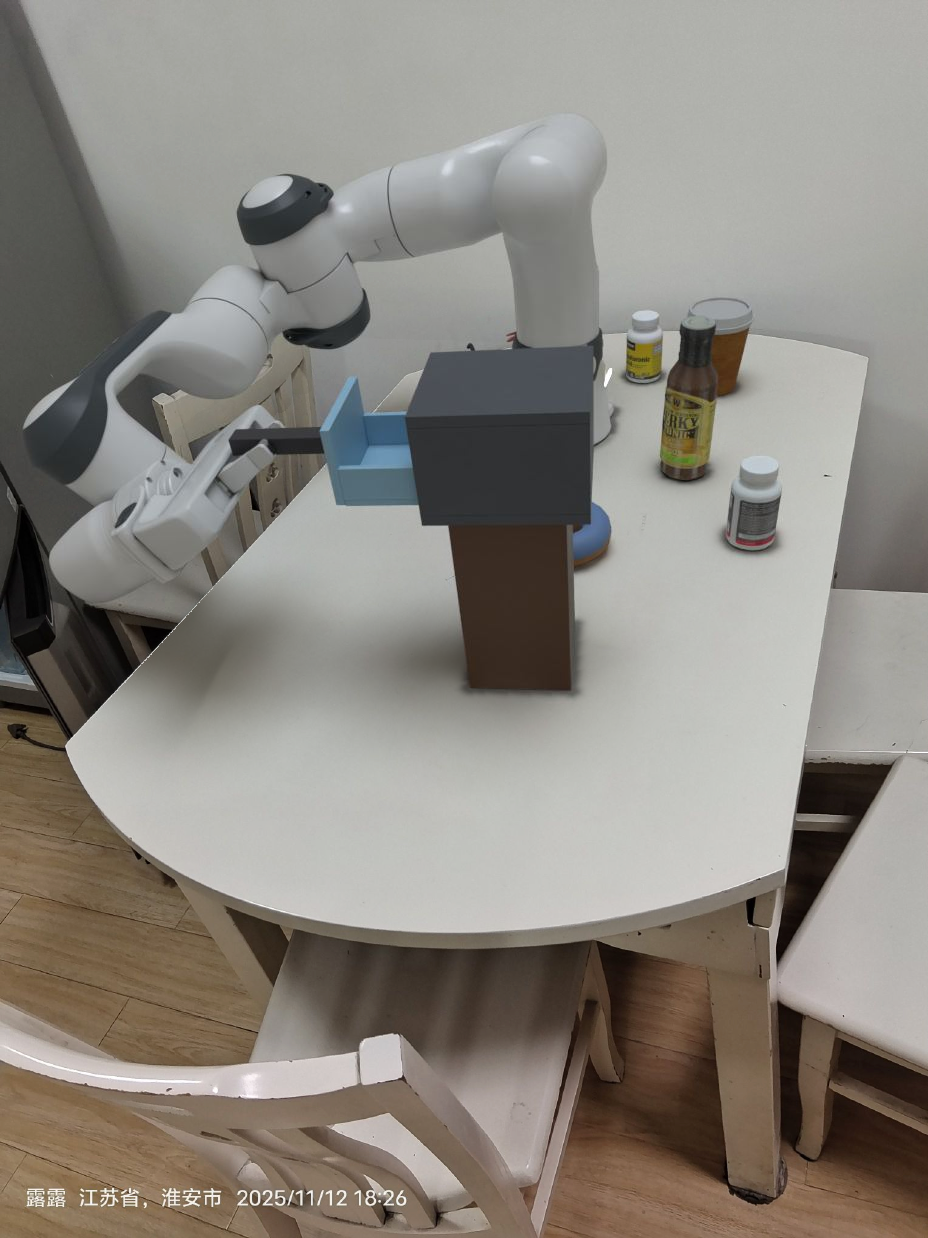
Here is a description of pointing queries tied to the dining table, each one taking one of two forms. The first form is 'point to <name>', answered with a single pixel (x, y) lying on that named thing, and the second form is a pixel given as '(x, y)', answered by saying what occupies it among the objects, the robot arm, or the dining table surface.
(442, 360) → the dispenser
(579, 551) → the doughnut
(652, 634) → the dining table surface
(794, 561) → the dining table surface
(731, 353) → the disposable coffee cup
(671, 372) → the sauce bottle
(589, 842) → the dining table surface
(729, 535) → the pill bottle
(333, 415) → the tray
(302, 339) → the robot arm
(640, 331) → the supplement bottle
